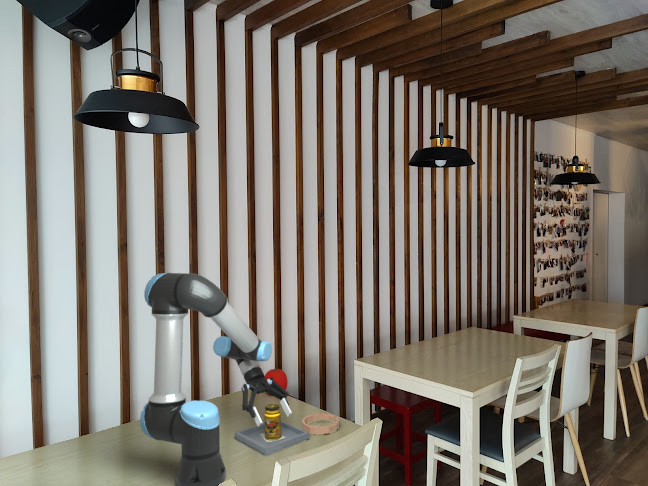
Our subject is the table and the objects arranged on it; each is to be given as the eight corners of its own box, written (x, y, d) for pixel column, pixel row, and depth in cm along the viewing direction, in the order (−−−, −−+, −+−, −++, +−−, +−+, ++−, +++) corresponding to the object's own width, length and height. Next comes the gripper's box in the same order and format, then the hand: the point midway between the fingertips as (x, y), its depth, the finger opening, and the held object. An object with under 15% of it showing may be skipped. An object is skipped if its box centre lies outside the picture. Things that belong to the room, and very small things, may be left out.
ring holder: (319, 438, 180) (318, 430, 180) (294, 427, 191) (294, 420, 191) (346, 427, 190) (346, 420, 190) (321, 418, 201) (321, 411, 201)
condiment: (267, 443, 176) (267, 410, 176) (259, 434, 183) (258, 403, 183) (286, 438, 179) (285, 406, 179) (277, 430, 187) (276, 400, 186)
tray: (265, 456, 167) (265, 448, 167) (234, 439, 181) (234, 432, 181) (309, 439, 180) (309, 432, 180) (277, 424, 195) (277, 418, 195)
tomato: (279, 389, 241) (278, 364, 241) (292, 394, 232) (292, 368, 232) (258, 394, 233) (257, 368, 233) (271, 400, 224) (270, 373, 224)
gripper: (273, 370, 200) (296, 416, 189) (220, 383, 184) (243, 434, 173) (280, 360, 196) (305, 405, 185) (227, 372, 180) (251, 423, 169)
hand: (275, 419), depth 179 cm, fingers open, 13 cm apart
